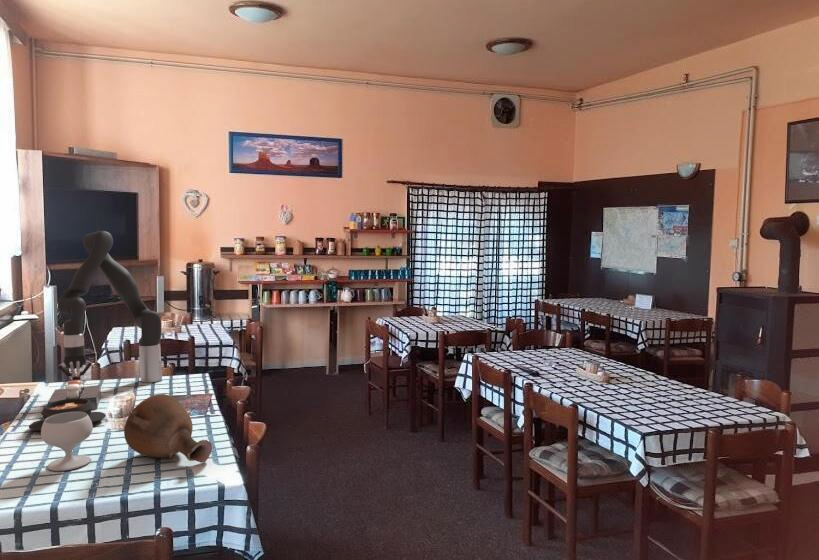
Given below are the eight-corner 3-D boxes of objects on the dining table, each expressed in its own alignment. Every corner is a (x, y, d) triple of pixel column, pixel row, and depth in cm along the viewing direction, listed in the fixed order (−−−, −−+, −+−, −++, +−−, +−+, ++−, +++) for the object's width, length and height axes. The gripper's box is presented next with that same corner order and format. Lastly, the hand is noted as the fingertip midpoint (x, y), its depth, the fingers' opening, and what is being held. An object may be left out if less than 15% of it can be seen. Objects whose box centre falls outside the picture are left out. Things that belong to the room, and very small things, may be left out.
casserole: (29, 439, 216) (27, 416, 215) (29, 425, 231) (27, 403, 231) (108, 426, 228) (107, 404, 228) (103, 413, 244) (102, 392, 243)
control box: (101, 396, 268) (100, 385, 267) (97, 409, 249) (96, 397, 249) (56, 401, 262) (55, 389, 261) (48, 414, 243) (47, 402, 243)
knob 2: (85, 397, 265) (84, 383, 265) (83, 400, 261) (83, 386, 260) (71, 398, 263) (71, 384, 263) (70, 401, 259) (69, 387, 258)
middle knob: (82, 393, 258) (82, 379, 258) (81, 396, 254) (80, 382, 253) (69, 394, 257) (68, 380, 256) (67, 397, 252) (66, 383, 251)
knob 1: (81, 397, 252) (80, 383, 251) (79, 401, 247) (78, 386, 247) (67, 399, 250) (66, 384, 249) (65, 402, 245) (64, 387, 245)
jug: (116, 455, 200) (176, 492, 184) (107, 402, 193) (168, 436, 177) (170, 425, 216) (230, 457, 200) (163, 376, 209) (224, 404, 193)
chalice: (83, 452, 203) (80, 407, 201) (102, 462, 194) (99, 415, 193) (35, 466, 192) (32, 418, 191) (54, 477, 183) (51, 427, 182)
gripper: (92, 341, 266) (95, 381, 267) (57, 344, 261) (60, 385, 262) (91, 345, 259) (93, 385, 260) (54, 347, 254) (57, 389, 255)
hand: (76, 385), depth 261 cm, fingers closed
